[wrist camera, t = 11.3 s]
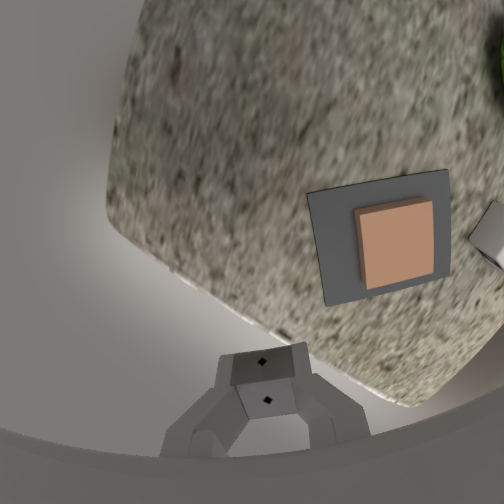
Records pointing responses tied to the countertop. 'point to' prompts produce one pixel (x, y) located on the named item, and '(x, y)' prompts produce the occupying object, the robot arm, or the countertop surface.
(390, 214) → the block
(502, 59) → the lettuce
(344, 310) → the countertop surface
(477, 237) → the container
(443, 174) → the mat
